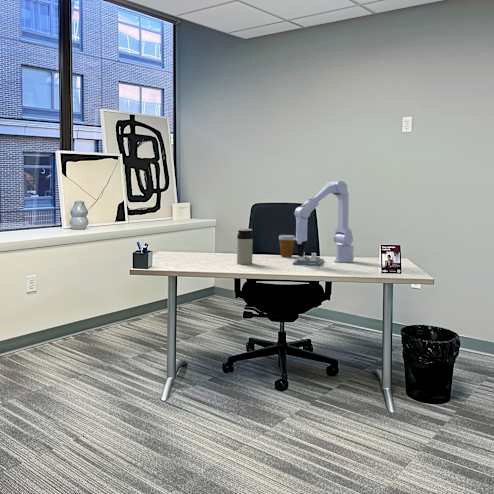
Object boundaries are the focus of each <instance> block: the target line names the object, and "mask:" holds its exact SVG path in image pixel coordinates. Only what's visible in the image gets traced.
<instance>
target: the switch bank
mask: <svg viewBox="0 0 494 494" xmlns="http://www.w3.org/2000/svg"><path fill="white" fill-rule="evenodd" d="M324 259H325V258H321V256H316V261H311V257H310V256H305V260H300V257H297V258H296V259H295V260H294V261H293V262H292V265H293V266H303V265H306V266H308V267H321V266H322V264H323V263H324Z"/></svg>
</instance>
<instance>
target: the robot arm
mask: <svg viewBox="0 0 494 494" xmlns="http://www.w3.org/2000/svg"><path fill="white" fill-rule="evenodd" d="M330 194H333V195H334V196H335V197H336V198H337V228H335V230H334V235H333V241H334V243H335V245H336V248H335V260H334V263H351V264H352V263H353V262H354V260H355V259H354V251H355V250H354V248H355V247H354V245H352V244H353V242H354V236H353V232H352V230H351V228H350V226H349V208H350V207H349V204H350V203H349V200H350V199H349V197H350V195H349V191H348V184H347V183H346V182H345V181H343V180H328V181H327V182H326V183H324V186H323V187H322V188H321V189H320V190H319V191H318V193H316V195H315V196H311V197H308V198H307V200H306V201H305V202H304V203H302V204H301V206H298V207H296V208H295V210H294V212H293V214H294V216H295V221H296V222H295V223H296V224H295V226H296V227H295V238H294V241H296V242H294V245H295V246H296V249H297V254H298V258H300V257H303V255H304V253H305V249H306V247H307V245H308V242H307V241H308V220H309V219H308V218H310V216H311V213H312V211H314V210H315V209H316V208H317V207H318V206H319V202H320V201H322V200H323V199H324V198H325V197H326V196H328V195H330Z"/></svg>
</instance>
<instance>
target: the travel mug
mask: <svg viewBox="0 0 494 494" xmlns="http://www.w3.org/2000/svg"><path fill="white" fill-rule="evenodd" d="M237 231H238V233H237V235H236V238H237V239H236V241H237V242H236V244H237V245H236V263H237V264H239V265H243V266H245V265H251V264H253V242H254V240H253V234H252V231H253V228H237Z"/></svg>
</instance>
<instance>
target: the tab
mask: <svg viewBox="0 0 494 494" xmlns="http://www.w3.org/2000/svg"><path fill="white" fill-rule="evenodd" d="M316 257H317V253H316V252H311V257H310V258H311V261H316Z"/></svg>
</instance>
